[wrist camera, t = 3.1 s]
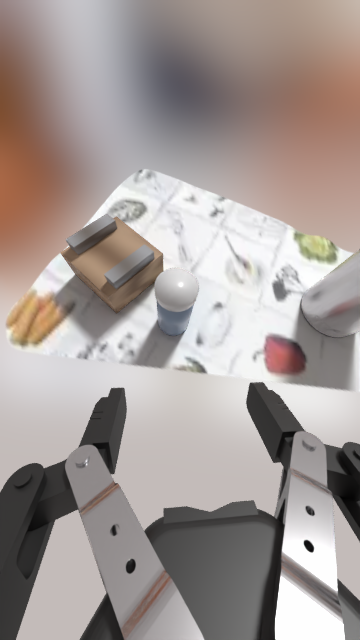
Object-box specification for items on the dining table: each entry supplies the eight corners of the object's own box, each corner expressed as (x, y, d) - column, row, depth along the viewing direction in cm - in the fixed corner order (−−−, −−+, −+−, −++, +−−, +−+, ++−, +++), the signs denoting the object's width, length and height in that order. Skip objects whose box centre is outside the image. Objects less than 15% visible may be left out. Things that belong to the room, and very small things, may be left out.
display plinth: (122, 240, 36) (114, 207, 30) (163, 274, 34) (162, 246, 28) (75, 274, 32) (54, 244, 26) (116, 313, 30) (104, 291, 24)
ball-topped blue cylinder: (172, 301, 32) (175, 260, 22) (195, 321, 31) (207, 286, 21) (151, 321, 30) (145, 286, 21) (174, 342, 29) (178, 314, 20)
